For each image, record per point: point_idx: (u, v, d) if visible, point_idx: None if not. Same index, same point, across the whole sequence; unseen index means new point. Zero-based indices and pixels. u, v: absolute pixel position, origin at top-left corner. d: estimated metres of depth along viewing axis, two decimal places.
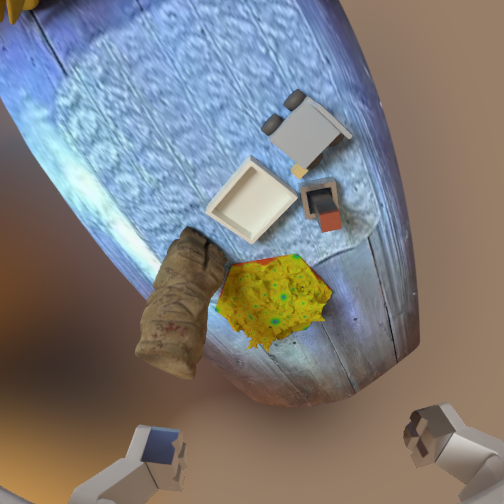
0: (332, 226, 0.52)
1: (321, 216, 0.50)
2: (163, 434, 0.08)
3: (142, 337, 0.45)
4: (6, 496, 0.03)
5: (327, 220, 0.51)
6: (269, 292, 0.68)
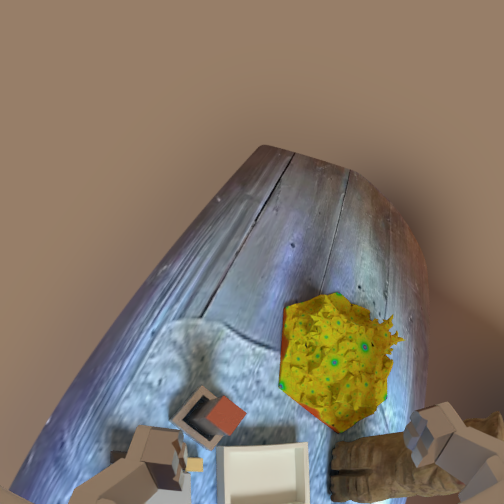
0: (230, 408, 0.32)
1: (229, 432, 0.30)
2: (163, 434, 0.08)
3: None
4: (6, 496, 0.03)
5: (228, 421, 0.31)
6: (340, 381, 0.47)
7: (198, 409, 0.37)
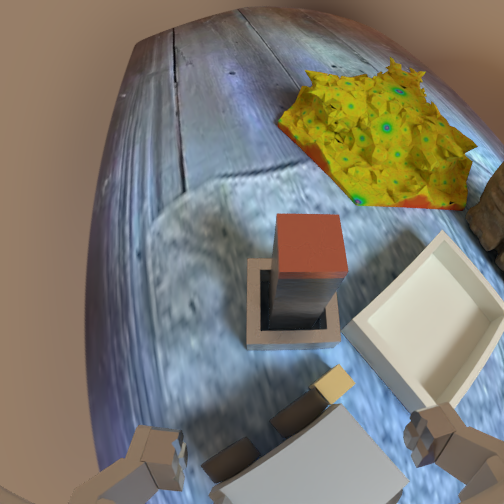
0: (305, 226, 0.16)
1: (343, 266, 0.15)
2: (163, 434, 0.08)
3: None
4: (6, 496, 0.03)
5: (322, 248, 0.16)
6: (413, 142, 0.30)
7: (270, 294, 0.23)
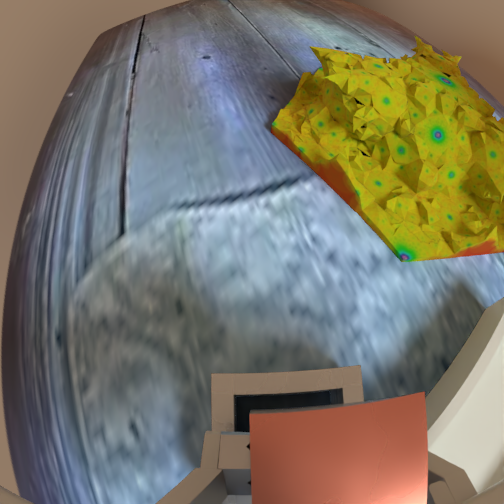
0: (335, 448, 0.04)
1: None
2: (235, 438, 0.08)
3: None
4: (6, 496, 0.03)
5: None
6: (475, 158, 0.18)
7: None
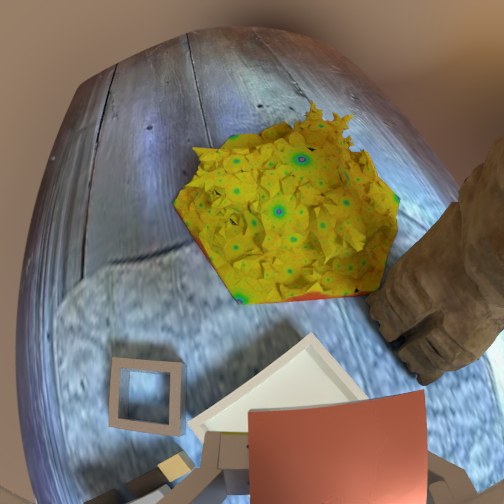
0: (334, 446, 0.04)
1: None
2: (235, 438, 0.08)
3: None
4: (6, 496, 0.03)
5: (373, 503, 0.04)
6: (309, 227, 0.30)
7: None
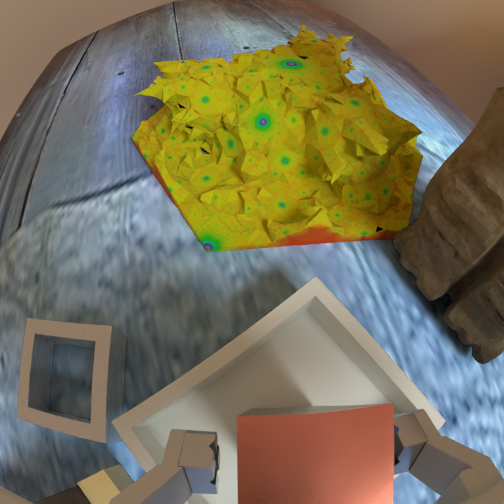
0: (309, 448, 0.05)
1: None
2: (199, 437, 0.08)
3: None
4: (6, 496, 0.03)
5: (343, 498, 0.05)
6: (306, 138, 0.20)
7: None
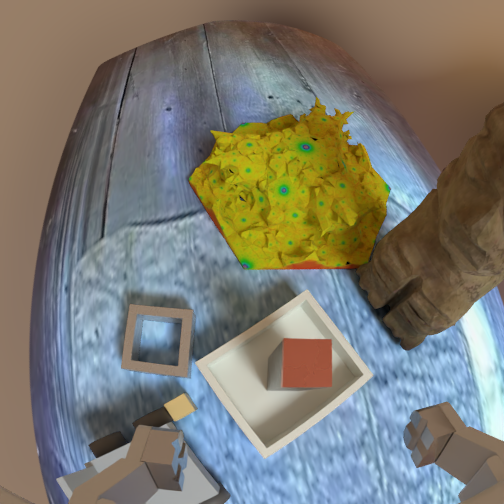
0: (305, 349, 0.20)
1: (328, 382, 0.19)
2: (163, 434, 0.08)
3: None
4: (6, 496, 0.03)
5: (315, 369, 0.20)
6: (309, 205, 0.35)
7: (270, 370, 0.27)
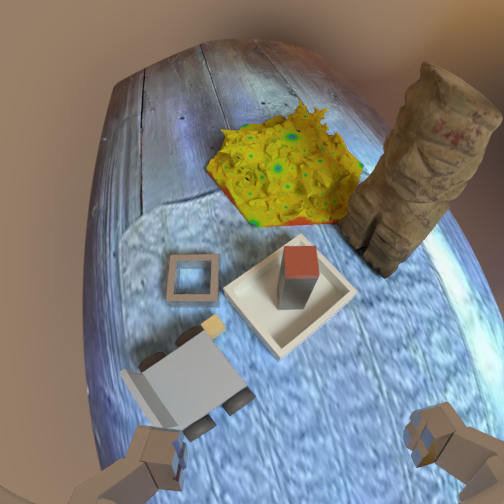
0: (298, 252, 0.32)
1: (317, 272, 0.31)
2: (163, 434, 0.08)
3: (489, 136, 0.23)
4: (6, 496, 0.03)
5: (307, 264, 0.32)
6: (297, 177, 0.47)
7: (279, 288, 0.39)
